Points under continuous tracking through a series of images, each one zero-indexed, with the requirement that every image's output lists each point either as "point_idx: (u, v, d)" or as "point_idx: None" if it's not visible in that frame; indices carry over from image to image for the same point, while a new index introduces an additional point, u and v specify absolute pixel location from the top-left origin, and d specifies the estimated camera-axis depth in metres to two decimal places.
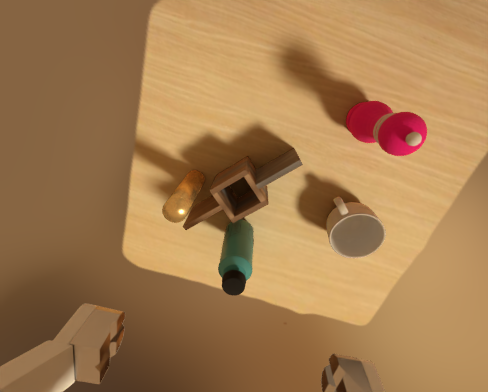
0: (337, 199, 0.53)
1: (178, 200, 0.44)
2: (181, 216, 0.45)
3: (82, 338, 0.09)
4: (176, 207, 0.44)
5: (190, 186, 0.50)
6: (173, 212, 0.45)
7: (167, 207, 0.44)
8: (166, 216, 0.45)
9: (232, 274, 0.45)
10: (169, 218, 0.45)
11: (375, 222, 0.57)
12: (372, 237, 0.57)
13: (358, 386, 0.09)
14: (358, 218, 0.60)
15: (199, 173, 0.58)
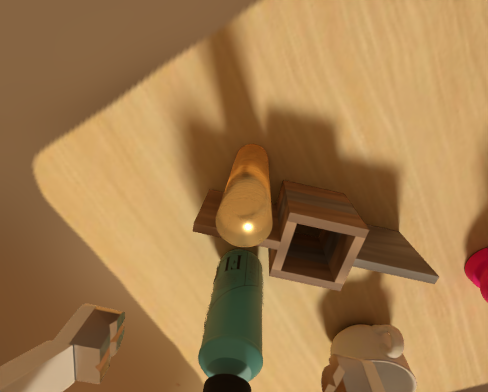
0: (397, 334, 0.36)
1: (270, 210, 0.19)
2: (248, 240, 0.20)
3: (82, 338, 0.09)
4: (254, 220, 0.19)
5: (269, 182, 0.25)
6: (241, 222, 0.19)
7: (241, 206, 0.18)
8: (220, 218, 0.19)
9: (239, 391, 0.22)
10: (222, 225, 0.19)
11: (391, 372, 0.42)
12: None
13: (358, 386, 0.09)
14: None
15: None
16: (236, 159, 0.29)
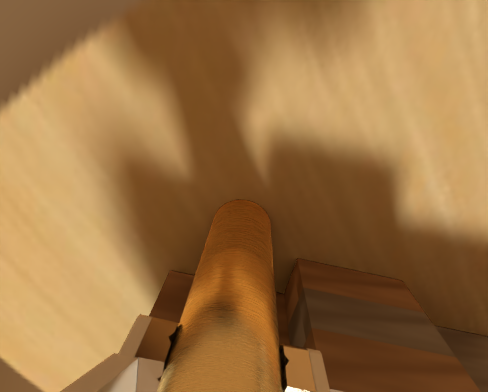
0: None
1: None
2: None
3: (146, 350, 0.09)
4: None
5: None
6: None
7: None
8: None
9: None
10: None
11: None
12: None
13: (300, 374, 0.09)
14: None
15: (270, 229, 0.18)
16: (207, 244, 0.14)
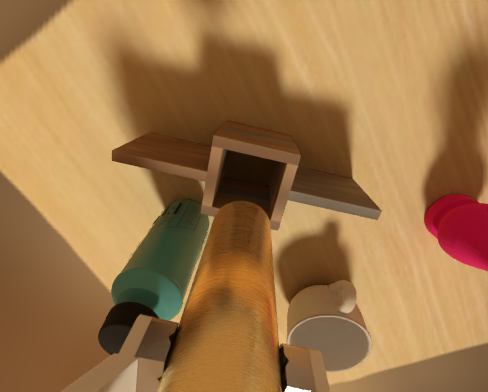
0: (350, 287, 0.33)
1: None
2: None
3: (146, 350, 0.09)
4: None
5: (277, 332, 0.10)
6: None
7: None
8: None
9: None
10: None
11: (350, 335, 0.40)
12: (333, 348, 0.40)
13: (300, 374, 0.09)
14: None
15: (270, 230, 0.18)
16: (207, 246, 0.14)
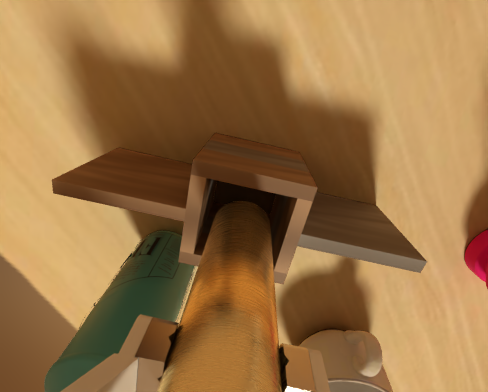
0: (374, 344, 0.26)
1: None
2: None
3: (146, 350, 0.09)
4: None
5: (277, 332, 0.11)
6: None
7: None
8: None
9: None
10: None
11: (370, 391, 0.32)
12: None
13: (300, 374, 0.09)
14: None
15: (270, 230, 0.18)
16: (207, 246, 0.14)
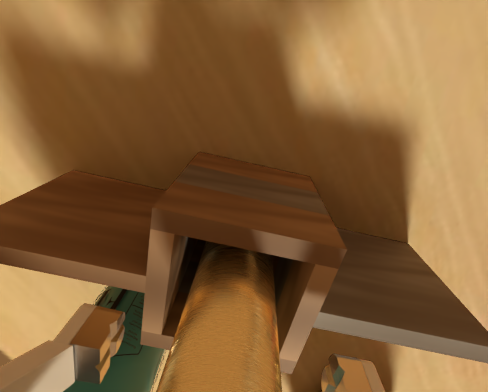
0: None
1: None
2: None
3: (83, 338, 0.09)
4: None
5: (274, 294, 0.12)
6: None
7: None
8: None
9: None
10: None
11: None
12: None
13: (358, 386, 0.09)
14: None
15: None
16: None
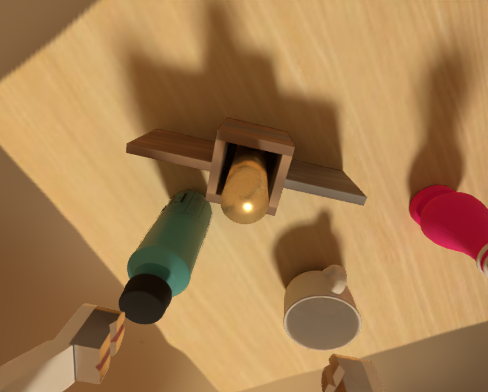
0: (341, 270, 0.37)
1: (266, 191, 0.22)
2: (248, 217, 0.23)
3: (82, 338, 0.09)
4: (253, 200, 0.22)
5: (266, 171, 0.29)
6: (242, 202, 0.22)
7: (243, 187, 0.22)
8: (224, 198, 0.22)
9: (156, 287, 0.23)
10: (225, 204, 0.22)
11: (343, 317, 0.43)
12: (326, 330, 0.43)
13: (358, 386, 0.09)
14: (326, 298, 0.45)
15: None
16: (236, 152, 0.33)
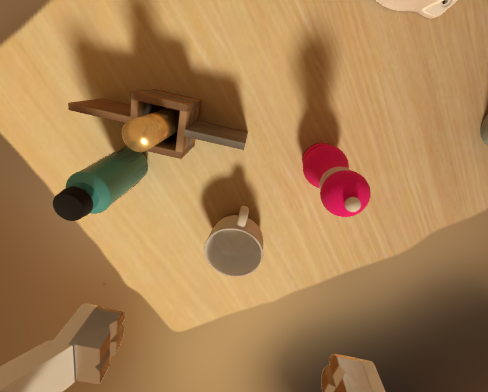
0: (245, 208, 0.47)
1: (152, 128, 0.33)
2: (141, 147, 0.34)
3: (82, 338, 0.09)
4: (143, 133, 0.33)
5: (170, 123, 0.39)
6: (136, 135, 0.33)
7: (134, 124, 0.32)
8: (124, 132, 0.33)
9: (78, 193, 0.33)
10: (125, 137, 0.33)
11: (257, 253, 0.53)
12: (244, 263, 0.54)
13: (358, 386, 0.09)
14: (247, 239, 0.56)
15: None
16: None
